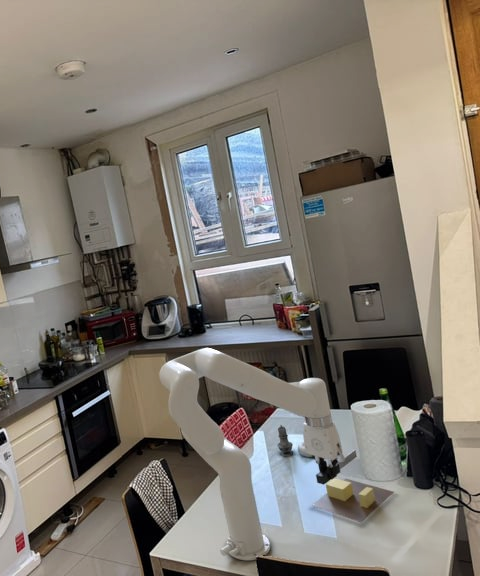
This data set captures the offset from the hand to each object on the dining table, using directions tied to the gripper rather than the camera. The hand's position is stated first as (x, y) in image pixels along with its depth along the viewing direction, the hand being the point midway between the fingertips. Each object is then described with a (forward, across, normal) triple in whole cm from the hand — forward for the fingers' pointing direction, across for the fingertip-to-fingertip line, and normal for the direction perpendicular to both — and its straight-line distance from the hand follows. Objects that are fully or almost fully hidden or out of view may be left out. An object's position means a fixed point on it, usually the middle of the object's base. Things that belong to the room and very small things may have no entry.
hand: (328, 475), depth 155 cm
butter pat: (+12, +5, +9) cm, 16 cm away
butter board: (+13, 0, +9) cm, 16 cm away
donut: (+13, -29, +32) cm, 45 cm away
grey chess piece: (+13, -37, +26) cm, 47 cm away
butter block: (+12, -4, +9) cm, 15 cm away
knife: (0, 0, +5) cm, 5 cm away
